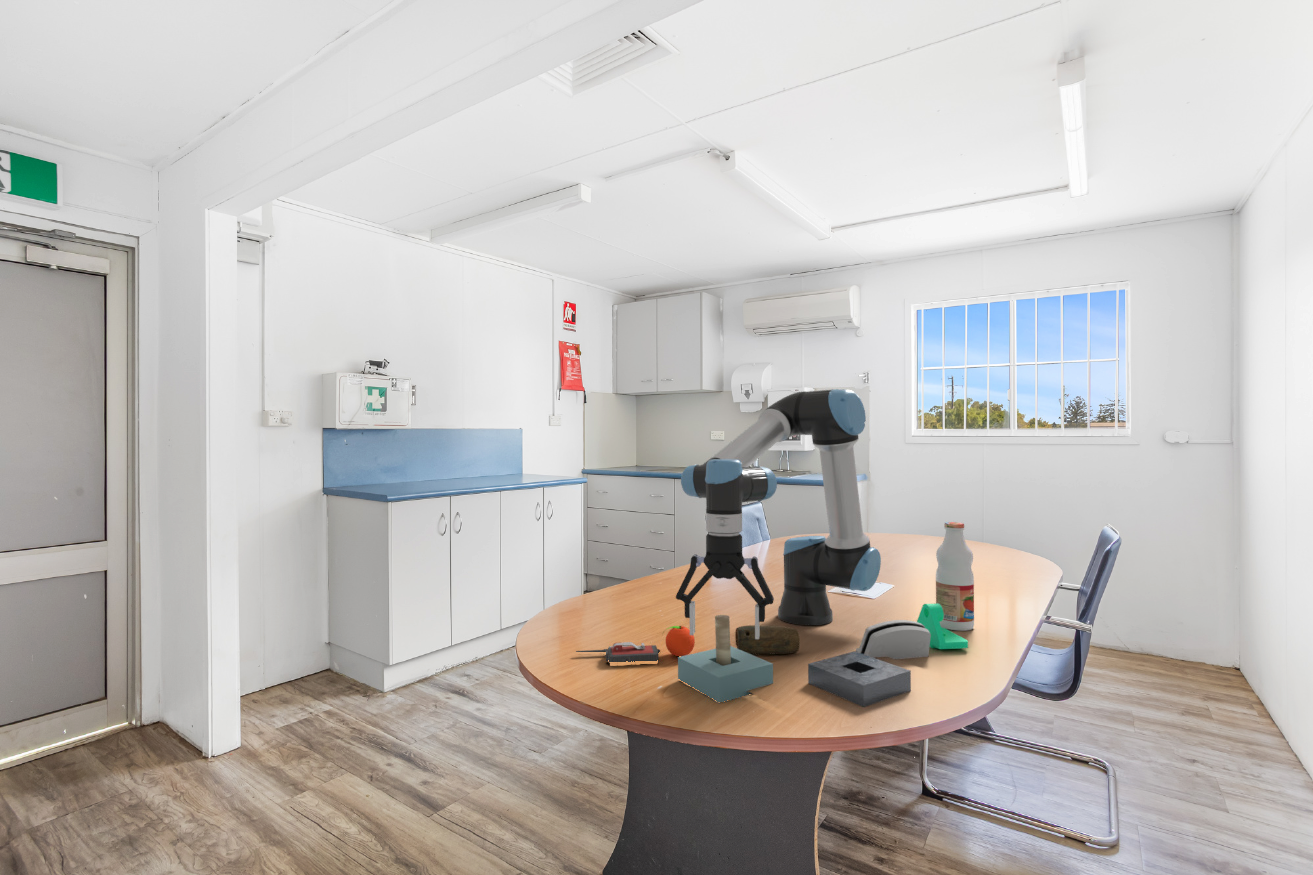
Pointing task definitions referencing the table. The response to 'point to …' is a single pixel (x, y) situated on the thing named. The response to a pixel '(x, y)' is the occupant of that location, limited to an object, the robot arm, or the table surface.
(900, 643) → the grey rounded slab
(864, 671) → the mount block
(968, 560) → the fruit juice
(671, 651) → the clementine
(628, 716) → the table surface
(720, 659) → the pin
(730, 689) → the socket block
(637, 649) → the walkie-talkie
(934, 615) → the camera mount
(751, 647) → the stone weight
